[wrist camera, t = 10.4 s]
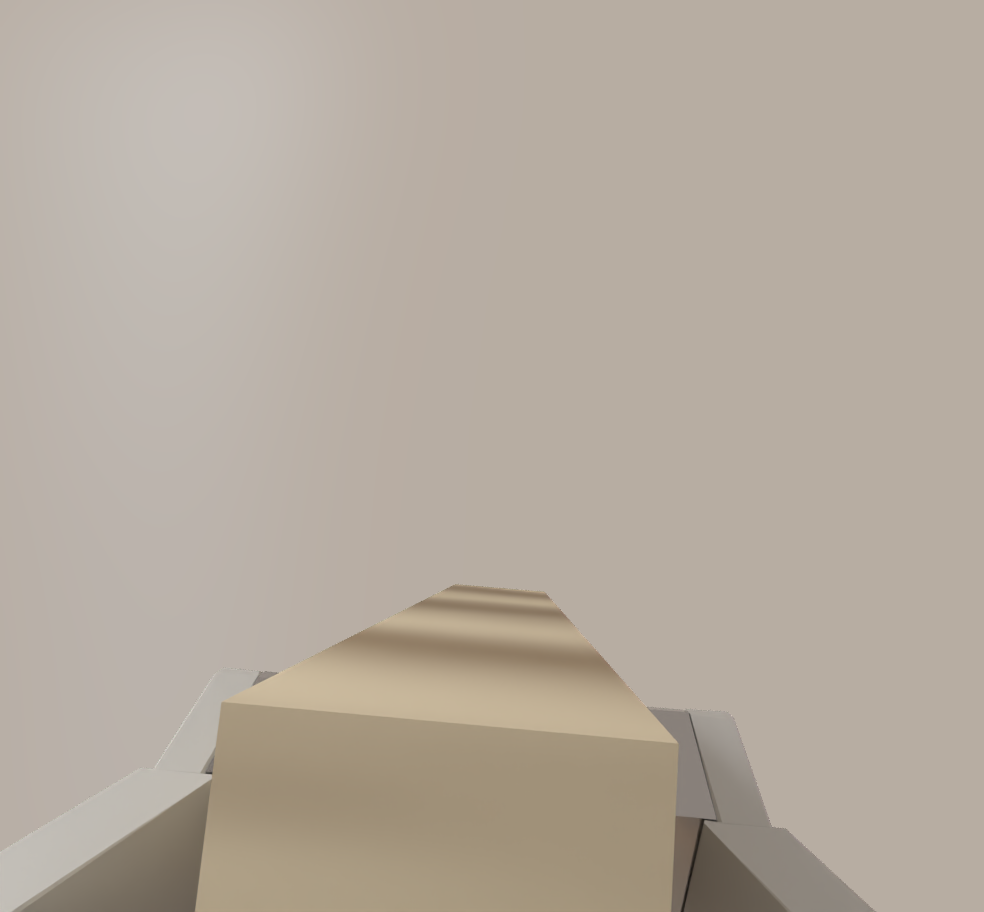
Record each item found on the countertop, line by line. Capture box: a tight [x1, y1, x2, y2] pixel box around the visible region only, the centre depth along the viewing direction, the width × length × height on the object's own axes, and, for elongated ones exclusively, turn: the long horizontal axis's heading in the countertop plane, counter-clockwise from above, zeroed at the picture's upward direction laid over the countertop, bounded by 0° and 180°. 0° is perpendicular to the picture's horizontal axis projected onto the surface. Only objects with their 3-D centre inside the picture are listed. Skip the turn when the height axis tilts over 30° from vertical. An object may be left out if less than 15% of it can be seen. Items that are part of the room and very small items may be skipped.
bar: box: [195, 584, 679, 912], centre depth 14 cm, size 20×3×3 cm, turn 178°
